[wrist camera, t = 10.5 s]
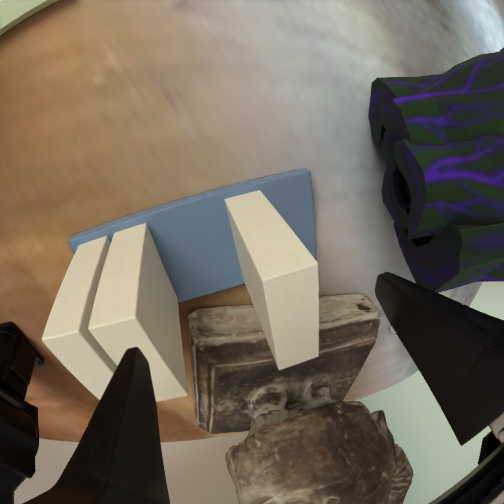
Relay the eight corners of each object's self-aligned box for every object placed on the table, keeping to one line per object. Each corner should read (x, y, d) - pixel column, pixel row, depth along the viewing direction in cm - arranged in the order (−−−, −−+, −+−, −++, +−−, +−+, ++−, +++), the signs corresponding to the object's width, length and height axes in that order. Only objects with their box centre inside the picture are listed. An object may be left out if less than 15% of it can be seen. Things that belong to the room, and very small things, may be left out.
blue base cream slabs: (113, 312, 23) (104, 414, 14) (71, 235, 18) (25, 335, 10) (311, 255, 25) (372, 338, 17) (305, 167, 20) (391, 230, 12)
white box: (243, 279, 23) (278, 370, 16) (224, 198, 19) (261, 280, 12) (273, 270, 23) (319, 356, 16) (260, 189, 19) (318, 263, 12)
